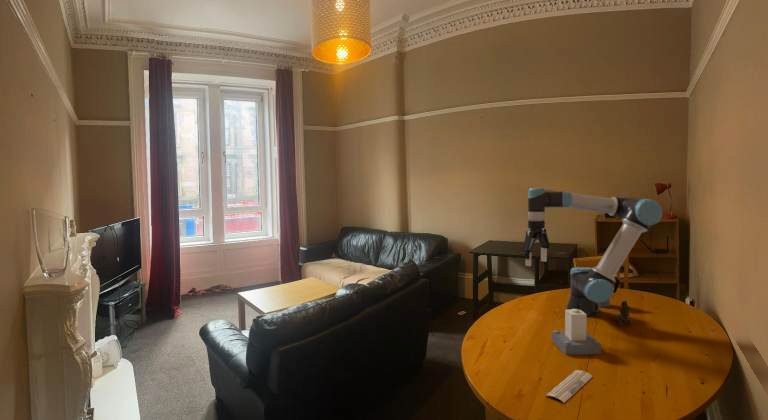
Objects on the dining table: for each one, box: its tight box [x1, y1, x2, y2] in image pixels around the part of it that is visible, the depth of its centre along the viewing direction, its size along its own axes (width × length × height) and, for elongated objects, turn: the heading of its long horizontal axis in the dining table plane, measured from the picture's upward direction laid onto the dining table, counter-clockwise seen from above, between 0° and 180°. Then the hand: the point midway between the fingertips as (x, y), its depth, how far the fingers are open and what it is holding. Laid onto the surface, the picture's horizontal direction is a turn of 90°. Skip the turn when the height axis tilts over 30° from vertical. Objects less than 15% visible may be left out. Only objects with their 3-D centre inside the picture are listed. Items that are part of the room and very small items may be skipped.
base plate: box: [551, 330, 602, 356], centre depth 169 cm, size 14×14×5 cm
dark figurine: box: [612, 300, 632, 327], centre depth 194 cm, size 15×10×12 cm, turn 134°
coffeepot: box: [597, 277, 621, 309], centre depth 218 cm, size 15×9×18 cm, turn 62°
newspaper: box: [545, 369, 594, 404], centre depth 138 cm, size 24×7×2 cm, turn 133°
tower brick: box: [564, 309, 588, 341], centre depth 168 cm, size 6×6×12 cm
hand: (536, 263), depth 196 cm, fingers open, 13 cm apart
